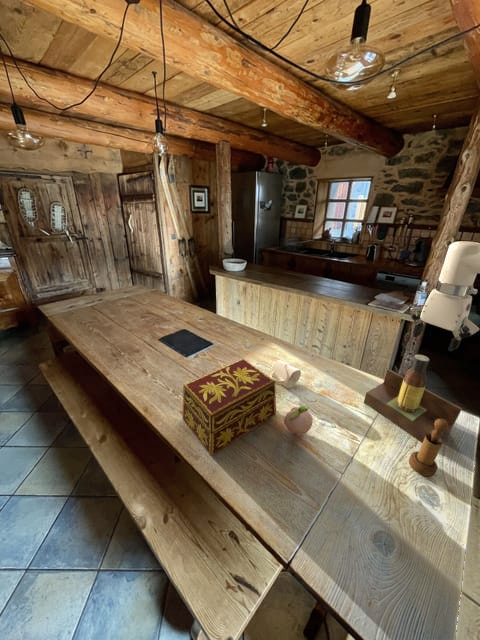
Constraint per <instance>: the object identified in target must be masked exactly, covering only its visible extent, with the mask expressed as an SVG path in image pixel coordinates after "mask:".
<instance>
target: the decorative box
mask: <svg viewBox="0 0 480 640" xmlns="http://www.w3.org/2000/svg"><path fill="white" fill-rule="evenodd" d="M276 394H277V393H276V384H275V381H274V380H273V379H271V378H270V375H267V374H266V373H265V372H263V371H262V370H261V369H259V368H257V367H256V366H255V365H253V364H252V363H250V362H249V361H248V360H246V359H245V358H241V359H239V360H237V361H234V362H232V363H230V364H228V365H225V366H223V367H220V368H218V369H215V370H213V371H211V372H209V373H207V374H204V375H202V376H200V377H198V378H195V379H193V380H191V381H188V382H186V383H184V384H183V387H182V413H181V414H182V415H181V416H182V418H181V419H182V420H183V421H184V423H185V424H186V425H187V427H188V428H189V429H190V431H191V432H192V433H193V435H194V436H195V437H196V439H197V440H198V441H199V442H200V444H201V445H202V446H203V447H204V449H205V450H206V452H207V453H208V454H209V456H214V455H215V454H217V453H218V452H219V453H220V451H222V450H223V449H225V448H227V447H229V446H230V445H231V444H233V443H234V442H235V441H237V440H239V439H240V438H242V437H243V436H245V435H247V434H248V433H250V432H251V431H252V430H255V429H256V428H258V426H260V425H262V424H263V423H265V422H267V421H268V420H270V419H271V418H273V417H274V416H275V415H276V414H277V400H276V399H277V397H276Z"/></svg>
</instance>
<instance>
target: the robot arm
mask: <svg viewBox="0 0 480 640" xmlns="http://www.w3.org/2000/svg"><path fill="white" fill-rule="evenodd" d="M478 274H479V275H480V242H478V241H477V242H476V241H468V240H467V241H466V240H461V241H454V242H452V243H451V244H450V245H449V247H448V250H447V252H446V255H445V259H444V261H443V264H442V267H441V271H440V274H439V277H438V280H437V282H436V286H435V288H433V289H432V290H431V292H430V294H429V295H428V297H427V299H426V300H425V303H424V305H422V306H414V307H411V308H410V311H409V312H410V314H411V319H412V320H413V324H414V328H413V331H412V334H413V335H412V337H413V338H417V337H420V336H421V335H422V332H423V329H424V323H427V324H429V325H432V326H434V327H438V328H441V329H443V330H446V331H449V332H450V331H451V332H452V334H453V336H454V337H453V338H452V339H451V341H450V344H449V345H448V349H447V350H448V352H453V351H454V350H457V349H458V348H459V346H460V344H461V342H462V340H463V339H467V338H470V337H471V336H473V335H475V334H476V333H477V332H478V331H480V327H479V326H477V325H476V324H475V323H474V322H472V321H471V320H470V319H469V315H470V311H471V307H472V301H473V296H472V295H477V293H478V289H477V288H475V287H474V282H475V280H476V278H477V275H478ZM418 312H421V313H420V315H419V314H418ZM464 327H466V328H468V329H469V330H467V331H466V332H464V331H463V328H464Z"/></svg>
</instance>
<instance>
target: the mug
mask: <svg viewBox="0 0 480 640" xmlns="http://www.w3.org/2000/svg"><path fill="white" fill-rule="evenodd" d="M301 376H302V371H301V370H300V369H299V368H296V367H294V366H292V365H291V364H290V363H287V362H285V361H283V360H281V359H278V360H276V361H275V362H274V363H273V364H272V365H271V368H270V370H269V377H270V378H271V379H273V380H274V381H275V385H279V386H283V387H285V388H287V389H291V388H292V387H295V385H297V383H298V382H299V380H300V378H301Z"/></svg>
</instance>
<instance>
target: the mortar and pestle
mask: <svg viewBox="0 0 480 640" xmlns="http://www.w3.org/2000/svg"><path fill="white" fill-rule="evenodd" d="M434 425H435V430H433V431H432V434H427V435H426V436H425V439H424V441H423V443H422V442H421V446H420V448H419V449H418V450H417V451H413V452H412V453H411V454H410V456H409V457H408V463H409V466H410V468H412V470H413V471H414V472H415V473H416V474H418V475H420V476H422V477H424V478H432V477H434V476H435V475H436V472H437V471H438V464H437V461H436V458H437V456H438V454H439V453H440V450H441V448H442V446H443V444H444V442H443V440H441V439H440V438H441V437H442V434H441V432H444V431H446V430H447V429H448V427H449V426H448V423H447V422H446V421H445V420H443V419H437V420H436V421H435V422H434Z"/></svg>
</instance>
